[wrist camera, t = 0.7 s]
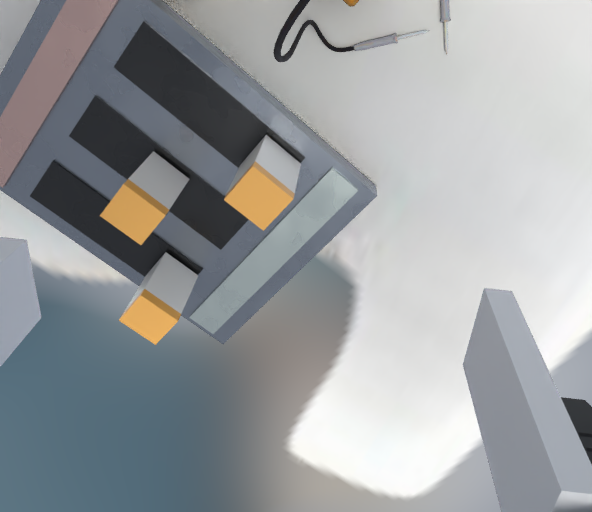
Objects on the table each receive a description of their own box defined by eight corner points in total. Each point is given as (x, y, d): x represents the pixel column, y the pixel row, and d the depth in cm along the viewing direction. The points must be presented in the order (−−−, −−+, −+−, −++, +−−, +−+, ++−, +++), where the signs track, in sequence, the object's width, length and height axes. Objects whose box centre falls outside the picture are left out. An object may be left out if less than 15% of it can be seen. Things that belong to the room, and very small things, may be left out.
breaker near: (240, 164, 38) (223, 199, 33) (266, 134, 36) (253, 166, 31) (274, 192, 38) (263, 230, 33) (300, 164, 37) (293, 199, 32)
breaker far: (145, 275, 43) (118, 320, 38) (165, 251, 42) (140, 295, 36) (177, 297, 44) (155, 344, 38) (198, 275, 42) (178, 320, 37)
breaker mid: (131, 179, 39) (99, 215, 34) (153, 151, 38) (123, 183, 33) (167, 206, 40) (141, 245, 35) (189, 179, 38) (165, 215, 33)
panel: (-31, 150, 41) (-48, 159, 39) (88, -64, 34) (73, -64, 32) (227, 331, 48) (222, 346, 46) (375, 185, 40) (377, 197, 38)
